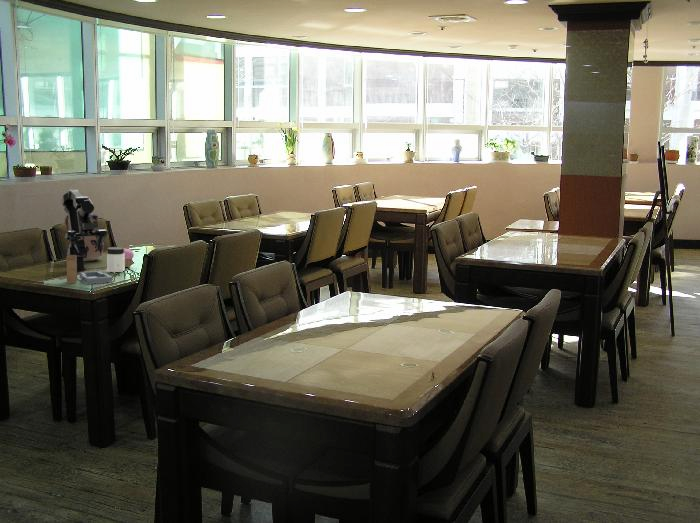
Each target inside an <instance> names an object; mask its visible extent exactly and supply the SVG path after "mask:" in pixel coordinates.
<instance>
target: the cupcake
mask: <svg viewBox="0 0 700 523" xmlns="http://www.w3.org/2000/svg"><path fill="white" fill-rule="evenodd" d="M124 253H125V267H129V268H130V267H131V266H132V259H133V258H134V257H135V254H134V252H133V251H132V250H131V249H129V248H128V249H127V248H124Z"/></svg>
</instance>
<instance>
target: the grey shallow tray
mask: <svg viewBox="0 0 700 523" xmlns="http://www.w3.org/2000/svg"><path fill="white" fill-rule="evenodd" d="M77 281H80V282H81V283H84V284H85V285H94V283H96V284H106V282H109V283H115V281H114V280H113V276H112V275H110V274H108V273H107V272H105V273H103V272H102V271H99V270H94V271H82V272H80V271H79V276H77Z"/></svg>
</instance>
